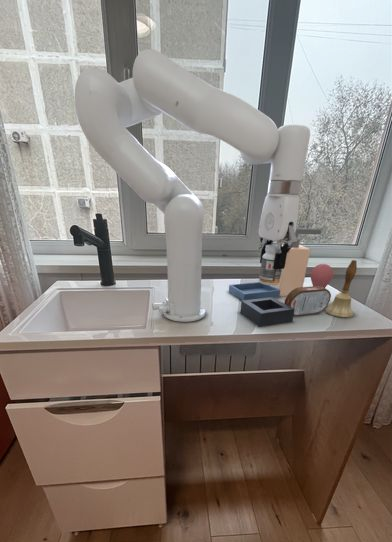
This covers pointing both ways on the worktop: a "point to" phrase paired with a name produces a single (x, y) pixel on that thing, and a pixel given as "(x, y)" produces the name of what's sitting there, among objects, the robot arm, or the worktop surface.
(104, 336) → the worktop surface
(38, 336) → the worktop surface
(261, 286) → the tray
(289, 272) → the soap dispenser
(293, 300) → the tin
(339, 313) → the hand bell
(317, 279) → the light bulb
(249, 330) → the worktop surface
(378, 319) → the worktop surface
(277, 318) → the socket base
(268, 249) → the pill bottle
